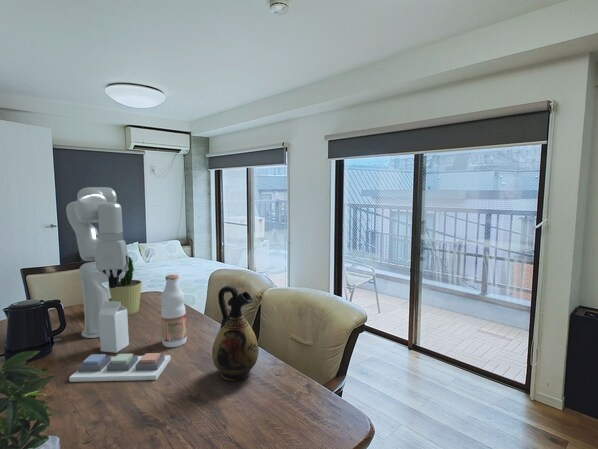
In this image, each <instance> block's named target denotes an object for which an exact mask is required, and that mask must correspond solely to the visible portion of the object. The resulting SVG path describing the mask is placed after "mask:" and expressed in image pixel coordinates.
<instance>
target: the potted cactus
mask: <svg viewBox="0 0 598 449" xmlns="http://www.w3.org/2000/svg"><path fill="white" fill-rule="evenodd" d="M128 258H129V265H128V268H129V270H128V271H125V276H124V277H123V278H122V279H120V280H119V285H118V287H116V288H110V285H109V284H108V285H107V286H108V290H109V291H108V292H109V294H110V295H109V296H110V298H111V301H112V302H121V305H122V306H123V307H125V308H126V309H127V316H128V315H133V314H136V313H138V312H139V309H140V303H141V292H142V282H143V281H142V280H138V279H133V276H134V272H135V267H134V260H133V258H131V256H129V255H128Z"/></svg>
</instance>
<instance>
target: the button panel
mask: <svg viewBox="0 0 598 449" xmlns="http://www.w3.org/2000/svg"><path fill="white" fill-rule="evenodd" d="M116 356H117V355H116ZM116 356H111V355H106V358H105V359H104V360H103V361H102V362H101V363H100V364H99V365H83V361H82V362H81V363H79V365H77V370H76V371H75V372H74V373H72V374H71V375H70V376H69V377H68V379H69V383H71V382H72V383H73V382H76V383H77V382H113V381H115V382H117V381H118V382H119V381H120V382H121V381H150V380H151V381H156V380H158V378H159V377H160V376H161V373H163V371H164V370H165V368H166V366H167V365H168V364H169V362H170V361H171V359H172V358H171V355H170V354H168V355H165V354H160V358H159V360H158V361H157V362H156V363H150V364H140V360H141V358H142V357H143V356H144V355H138V354H133V358H132V359H131V360H130V361H129V363H128V364H112V360H113V359H114V358H115V357H116Z"/></svg>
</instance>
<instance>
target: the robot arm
mask: <svg viewBox="0 0 598 449" xmlns="http://www.w3.org/2000/svg"><path fill="white" fill-rule="evenodd" d="M76 195H77V197H76V198H77V199H76V201H75V200H74V201H71V202H69V203H68V204H67V205H66V210H65V211H66V217H67V219H68V222H69V224H70V226H71V228H72V229H73V231H74V233H75V236H76V242H77V247H78V252H79V256H80V258H81V259H82V260H83V261H85V263H83V264H81V266H80V267H79V269H78V274H79V278H80V282H81V287H82V297H83V311H84V327H85V329H83V330H82V331H81V334H80V335H81V336H82V337H83V338H86V339H96V338H97V339H98V338H100V330H99V315H98V314H99V312H100V311H101V309H102V307H103V306H104V304H105V302H104V301H110V298H109V297H110V295H109V294H110V292H109V291H108V290H109V289H107V288H106V287H105V286H104V285H102V283H107V282H108V285H110V288H116V287H118V285H119V281H120V279H122V278H123V277H124V276H125V271H128V270H129V268H128V265H129V258H128V256H129V252H128V247H127V244H126V240H124V230H123V214H122V213H123V212H122V211H123V210H122V205H121V204H120V203H118V202H117V201H118V197H117V192H116V191H115V190H114V189H113V188H111V187H108V186H106V187H105V186H104V187H103V186H99V187H98V186H95V187H94V186H93V187H92V186H91V187H90V186H88V187H83V188H82V189H80V190H79V191H78V192H77V194H76ZM93 223H98V228H96V227H95V226H94V225H93ZM87 261H89V262H87Z"/></svg>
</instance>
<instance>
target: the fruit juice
mask: <svg viewBox="0 0 598 449" xmlns="http://www.w3.org/2000/svg"><path fill="white" fill-rule="evenodd" d="M164 279H165V288H164V289H163V291H162V293H161V295H160V302H161V310H160V317H161V318H160V319H161V320H160V322H161V324H160V325H161V343H162V346H163V347H166V348H177V347H178V348H179V347H181V346H183V345H184V344H186V342H187V339H188V336H187V316H186V315H187V314H186V312H187V311H186V305H185V304H184V303H185V293H184V291H183V290H182V288H181V287H180V284H179V281H178V280H179V274H167V275H166V276H165V278H164Z"/></svg>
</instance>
